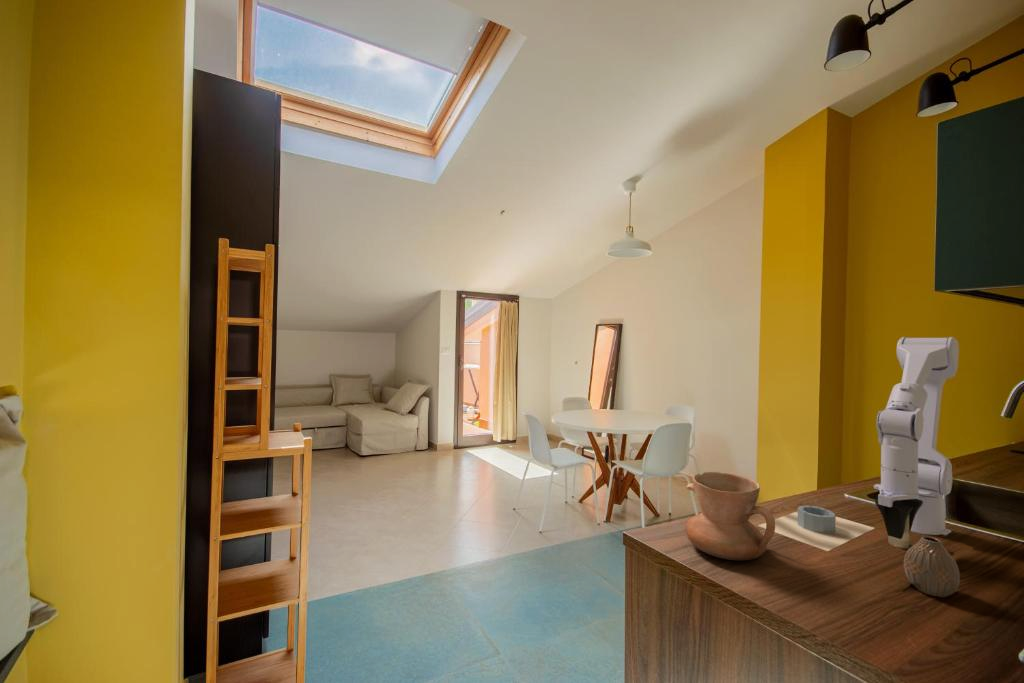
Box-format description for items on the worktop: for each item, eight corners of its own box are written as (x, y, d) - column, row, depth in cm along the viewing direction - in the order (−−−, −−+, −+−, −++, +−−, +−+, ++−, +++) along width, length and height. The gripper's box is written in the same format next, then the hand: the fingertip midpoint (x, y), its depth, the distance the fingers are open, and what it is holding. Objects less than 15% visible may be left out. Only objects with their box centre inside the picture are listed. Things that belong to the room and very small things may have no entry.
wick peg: (891, 540, 93) (892, 501, 93) (911, 546, 90) (911, 506, 90) (885, 543, 91) (885, 504, 91) (905, 549, 88) (905, 509, 88)
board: (806, 510, 111) (806, 507, 111) (874, 531, 99) (874, 528, 99) (757, 529, 99) (757, 525, 99) (827, 555, 87) (827, 551, 87)
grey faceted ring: (807, 518, 104) (807, 503, 104) (840, 529, 98) (840, 513, 98) (791, 524, 100) (791, 509, 100) (825, 535, 94) (826, 519, 94)
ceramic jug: (665, 541, 92) (666, 474, 92) (708, 526, 100) (710, 464, 100) (749, 584, 77) (750, 503, 77) (793, 562, 84) (795, 488, 84)
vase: (971, 605, 71) (972, 550, 71) (921, 599, 72) (921, 545, 72) (939, 582, 78) (939, 532, 78) (894, 577, 79) (894, 528, 79)
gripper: (889, 459, 98) (888, 520, 98) (860, 468, 90) (859, 535, 90) (931, 467, 92) (931, 532, 92) (904, 477, 84) (903, 549, 84)
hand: (898, 534), depth 91 cm, fingers closed on wick peg, 3 cm apart
